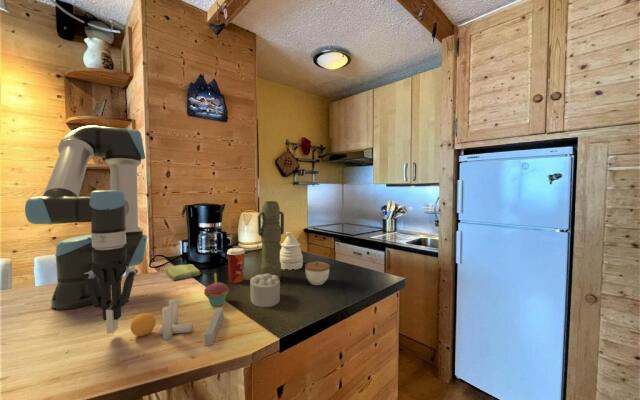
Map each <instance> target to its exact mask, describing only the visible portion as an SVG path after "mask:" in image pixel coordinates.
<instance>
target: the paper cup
mask: <svg viewBox="0 0 640 400" xmlns="http://www.w3.org/2000/svg"><path fill="white" fill-rule="evenodd" d="M245 253H246V251H245V249H244V248H242V247H234V248H229V249H227V252H226V254H227V263H228V266H227V267H228V276H229V277H228V279H229V283H231V284H239V283H240V284H241V283H242V282H243V281H244V270H245V268H244V267H245Z"/></svg>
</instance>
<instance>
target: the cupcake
mask: <svg viewBox="0 0 640 400" xmlns="http://www.w3.org/2000/svg"><path fill="white" fill-rule="evenodd" d="M203 293H204V294H203V295H205V297H206V298H207V299H208V300H209V301H208V302H209V304H210V305H211V306H220V305H223V304H224V303H225V301H226V297H227V295H228V294H229V293H230V286H229V285H228V284H227V283H224V282H219V281H218V279H217V272H216V271H215V272H214V282H213V283H211V284H209V285H207V286H206V287H205V289H204V292H203Z"/></svg>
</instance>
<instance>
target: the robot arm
mask: <svg viewBox="0 0 640 400" xmlns="http://www.w3.org/2000/svg"><path fill="white" fill-rule="evenodd" d="M57 146H58V148H57V150H58V153H59V155H58V158H57V160H56V162H55V165H54V166H53V167H54V168H53V170H52V172H51V175H50V177H49V180H48V182H47V185H46V188H45V190H44V193H43V194H42V195H43V196H41V195H38V196H32V197H30V198H28V199H27V200H26V203H25V207H24V214H25V218H26V219H27V221H28V222H29V223H30V224H33V225H57V224H60V225H61V224H73V223H74V224H76V223H77V224H78V223H90V227H91V228H90V229H91V230H90V231H91V232H90V233H91V234H85V235H78V236H73V237H69V238H67V239H63V240H60V241H59V242H57V244H56V245H55V248H56V249H55V261H56V263H55V264H56V276H57V279H56V280H57V283H56V286H55V290H54V292H53V294H52V297H51V300H50V301H51V308H52V307H53V309H54V308H56V309H55V310H73V309H78V308H84V307H86V306H90V305H93V307H94V308H95V309H98V308H99V309H102V320H103V321H105V322H106V323H105V324H106V334H114V333H115V332H116V331H117V330H118V329H119V319H120V318H121V317H122V307H124V306H125V305H126V304H127V303H128V302H129V301H130V296H131V294H132V293H131V292H132V288H133V284H134V280H135V277H136V276H137V274H138V273H139V271H138V269H133V268H130V267H134V266H139V265H141V264H143V263H144V261H145V256H146V249H147V241H148V240H147V239H148V236H147V234H144V233H143V232H144V231H143V229H141V227H139V214H138V213H139V211H138V209H139V208H138V201H139V200H138V172H137V171H138V167H139V166H140V165H141V164H142V160H144V159H146V154H145V150H144V149H145V148H144V144H143V138H142V133H141V131H139V130H138V129H133V128H127V127H125V128H123V127H113V126H102V125H85V126H81V127H78V128H76V129H73V130H71V131H70V132H69V133H67V134H66V135H65V136H64V137H62V138H61V140H60V142H59V144H58V145H57ZM95 157H96V158H98V157H99V158H104V163H106V164H108V166H109V171H110V172H109V177H110V178H109V179H110V182H109V183H110V189H108V190H107V189H106V190H105V189H103V190H102V189H101V190H92V191H91V192H90V194H89V196H87V195H85V196H80V193H81V190H82V185H83V184H84V183H83V182H84V179H85V174H86V171H87V167H88V164H89V162H90V161H91V160H93V158H95ZM124 274H125V277H126V278H125V279H124V283H123V286H122V281H123V280H122V279H123V278H122V277H123V275H124Z"/></svg>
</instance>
